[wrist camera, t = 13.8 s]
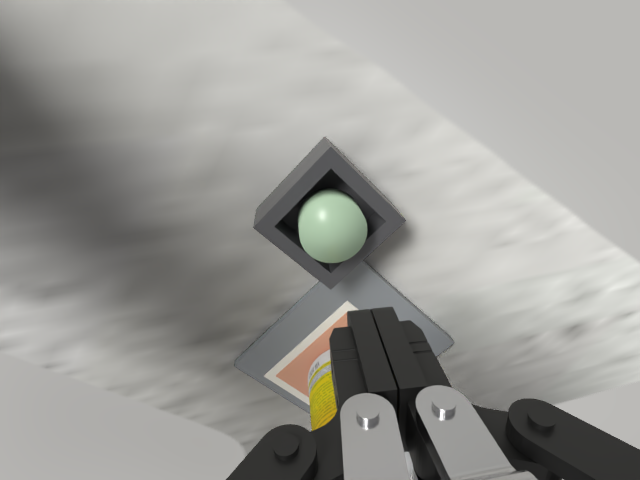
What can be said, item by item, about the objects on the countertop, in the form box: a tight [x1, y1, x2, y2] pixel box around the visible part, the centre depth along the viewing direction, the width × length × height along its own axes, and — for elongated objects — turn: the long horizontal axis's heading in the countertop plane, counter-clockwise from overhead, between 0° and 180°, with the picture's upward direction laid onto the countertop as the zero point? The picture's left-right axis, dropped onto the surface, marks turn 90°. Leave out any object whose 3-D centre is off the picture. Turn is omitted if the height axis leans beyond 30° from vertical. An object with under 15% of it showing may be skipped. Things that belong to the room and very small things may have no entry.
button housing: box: [253, 137, 406, 290], centre depth 23 cm, size 6×6×3 cm
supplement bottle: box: [308, 349, 412, 477], centre depth 24 cm, size 6×6×10 cm
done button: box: [298, 188, 367, 263], centre depth 21 cm, size 4×4×2 cm
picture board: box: [234, 261, 454, 414], centre depth 28 cm, size 11×12×1 cm
